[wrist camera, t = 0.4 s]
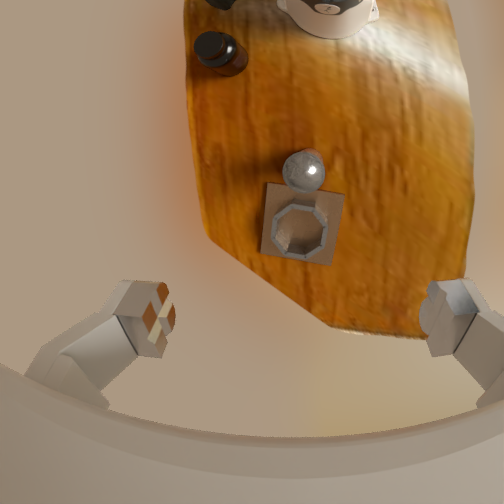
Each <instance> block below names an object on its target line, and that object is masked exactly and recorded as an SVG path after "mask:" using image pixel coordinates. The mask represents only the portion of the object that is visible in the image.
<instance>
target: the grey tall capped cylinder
mask: <svg viewBox="0 0 504 504" xmlns="http://www.w3.org/2000/svg"><path fill="white" fill-rule="evenodd" d="M324 177H325V169H324V165H323V159H322V156H321V154H320V153H319V152H318V151H317V150H316V149H313V148H306V149H303V150H302V151H300V152H297V153H295V154H293V155H291V156H290V157H289V158H288V159H287V160H286V162H285V163H284V166H283V178H284V181H285V183H286V184H287V186H288V187H289V188H290V189H292V190H293V191H295V192H298V193H303V194H307V193H311V192H314V191H315V190H317V189H318V188H319V187H320V186H321V185H322V183H323V181H324Z"/></svg>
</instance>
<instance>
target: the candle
mask: <svg viewBox="0 0 504 504" xmlns="http://www.w3.org/2000/svg"><path fill="white" fill-rule="evenodd" d="M206 1H207V2H208V3H209V4H210V5H211V6H214V7H217V8H219V9H222V10H228V9H229V8H230V6H231V5H232V4H233V3H234V1H235V0H206Z"/></svg>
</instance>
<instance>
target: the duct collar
mask: <svg viewBox="0 0 504 504" xmlns="http://www.w3.org/2000/svg"><path fill="white" fill-rule="evenodd" d="M344 196H345V195H344V194H342V193H336V192H331V191H325V190H319V189H317V190H315V191H314V192H311V193H307V194H303V193H298V192H295V191H293V190H292V189H290V188H289V187H288V186H287V184H281V183H273V182H268V184H267V194H266V204H265V214H264V223H263V233H262V243H261V252H260V253H262V254H267V255H273V256H279V257H284V258H290V259H295V260H301V261H307V262H312V263H318V264H324V265H329V266H331V263H332V258H333V254H334V249H335V244H336V239H337V234H338V229H339V224H340V219H341V213H342V208H343V202H344Z"/></svg>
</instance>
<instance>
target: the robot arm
mask: <svg viewBox="0 0 504 504" xmlns="http://www.w3.org/2000/svg"><path fill="white" fill-rule="evenodd" d="M277 7H278V8H279V9H281V10H282V11H284V12H286V13H288V14H289V15H290V16H291V17H292V19H293V20H294V21H295V22H296V24H297V25H298V26H300V27H301V28H302V29H303V30H305V31H307V32H308V33H310V34H313V35H315V36H318V37H322V38H329V39H339V38H345V37H349V36H351V35H353V34H355V33H357V32H358V31H360V30H361V29H362V28H363V27H364V26H365V25H366V24H369V23H372V22H375V21H377V20H378V19H379V12H378V8H377V4H376V1H375V0H277ZM372 10H373V11H372ZM168 294H169V291H168V288H167V285H166V284H165V283H163V282H152V281H137V280H136V281H134V280H122V281H120V282H119V283H118V285H117V286H116V288H115V289H114V291H113V292H112V293H111V295H110V296H109V298H108V299H107V301H106V302H105V304H104V305H103V307H102V308H101V310H100V311H99V313H93V314H92V315H90V316H89V317H87V318H85V319H84V320H83V321H81V322H79V323H78V324H76V325H74V326H73V327H71V328H70V329H68V330H67V331H65V332H63V333H62V334H60V335H59V336H57V337H56V338H54V339H53V340H51V341H49V342H48V343H46V344H45V345H43V346H42V347H41V349H40V350H39V352H38V353H37V355H36V356H35V358H34V360H33V361H32V363H31V365H30V366H29V368H28V370H27V371H26V373H25V375H24V376H23V375H21V374H19V373H18V372H16V371H14V370H12V369H10V368H8V367H6V366H5V365H3V364H1V363H0V504H504V317H503V316H502V315H501V314H499V313H498V312H496V311H492V310H491V309H490V307H489V305H488V304H487V302H486V300H485V299H484V297H483V296H482V294H481V293H480V291H479V290H478V288H477V286H476V285H475V283H474V282H473V281H472V280H471V279H470V278H460V279H451V280H435V281H431V282H430V284H429V285H428V288H427V294H428V297H427V298H426V299H425V300H424V301H423V302H422V304H421V307H420V311H419V321H420V325H421V328H422V331H424V332H425V333H426V334H427V335H428V337H427V340H426V342H427V344H428V347H429V350H430V353H431V355H432V357H437V356H444V355H451V354H453V356H454V357H455V358H456V359H457V360H458V361H459V362H460V363H461V364H462V365H463V367H464V368H465V369H466V370H467V371H468V372H469V373H470V374H471V375H472V376H473V378H474V379H475V380H476V381H477V382H478V383H479V384H480V385H481V386H482V388H483V389H484V390H485V393H484V394H483V395H482V396H481V397H480V398H479V399H478V400H477V403H476V405H477V408H478V409H475V410H472V411H469V412H465V413H462V414H459V415H456V416H452V417H448V418H445V419H441V420H437V421H433V422H429V423H424V424H420V425H415V426H410V427H405V428H399V429H393V430H388V431H381V432H373V433H365V434H355V435H345V436H330V437H300V438H299V437H297V438H296V437H294V438H293V437H291V438H290V437H289V438H288V437H260V436H259V437H258V436H245V435H233V434H223V433H215V432H208V431H201V430H194V429H187V428H182V427H177V426H172V425H166V424H162V423H157V422H153V421H149V420H144V419H140V418H136V417H132V416H129V415H125V414H122V413H118V412H115V411H112V410H108V407H109V402H108V400H107V399H106V398H105V397H104V396H103V394H102V393H101V392H100V391H101V390H102V389H103V388H104V387H106V386H107V385H108V384H109V383H110V382H111V381H112V380H113V379H114V378H115V377H116V376H118V375H119V374H120V373H121V372H122V371H123V370H124V369H125V368H126V367H127V366H129V364H131V363H132V362H133V361H134V360H135V359H136V358H137V357H138V356H146V357H155V358H162V355H163V353H164V350H165V348H166V345H167V343H168V342H167V339H166V337H165V336H167V335H168V334H169V333H170V332H172V330H173V327H174V325H175V308H174V306H173V303H172V302H171V301H170V300H169V299H168V298H167V296H168ZM137 355H138V356H137Z"/></svg>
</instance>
